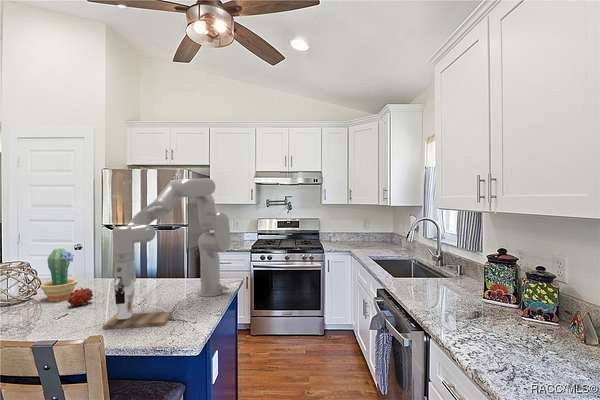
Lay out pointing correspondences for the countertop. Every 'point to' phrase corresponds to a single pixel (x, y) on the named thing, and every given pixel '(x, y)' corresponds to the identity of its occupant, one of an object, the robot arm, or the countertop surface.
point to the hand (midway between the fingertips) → (125, 299)
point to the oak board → (140, 320)
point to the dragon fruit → (80, 297)
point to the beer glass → (126, 303)
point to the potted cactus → (59, 276)
